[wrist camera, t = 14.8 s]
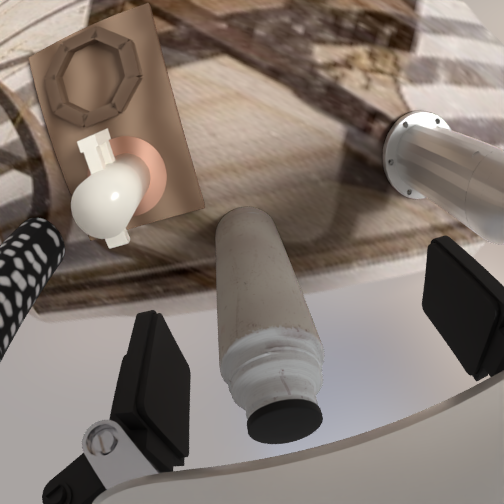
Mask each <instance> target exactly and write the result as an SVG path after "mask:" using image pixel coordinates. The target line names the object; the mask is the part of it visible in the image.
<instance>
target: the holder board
mask: <svg viewBox="0 0 504 504" xmlns="http://www.w3.org/2000/svg"><path fill="white" fill-rule="evenodd" d="M29 62H30V66H31V71H32V75H33V79H34V83H35V87H36V91H37V95H38V98H39V102H40V106H41V109H42V113H43V116H44V119H45V123H46V126H47V129H48V132H49V135H50V138H51V142H52V145H53V148H54V150H55V153H56V156H57V159H58V162H59V165H60V168H61V170H62V173H63V176H64V178H65V181H66V184H67V186H68V189H69V191H70V194H71V196H73V193H74V191H75V190H76V188H77V187H78V186H79V185H80V184H81V183H82V182H83V181H84V180H85V179H87V178H88V177H89V176H90V175H91V172H90V169H89V167H88V164H87V161H86V158H85V155H84V152H82V153H81V152H80V149H79V146H78V143H77V141H79V140H81V139H84V138H86V137H88V136H90V135H92V134H94V133H97V132H99V131H102V130H104V129H107V128H108V131H109V134H110V137H111V139H110V140H109V143H110V146H111V149H112V152H113V155H114V156H116V155H119V154H123V153H129V154H134V155H136V156H138V157H140V158H141V159H142V160H143V161H144V162H145V163H146V165H147V166H148V168H149V171H150V185H149V188H148V190H147V192H146V193H145V195H144V197H143V198H142V200H141V202H140V203H139V205H138V207H137V209H136V210H135V212H134V214H133V216H132V217H131V219H130V221H129V223H128V225H127V226H126V230H128V229H131V228H135V227H138V226H142V225H145V224H148V223H152V222H155V221H159V220H162V219H166V218H170V217H173V216H177V215H180V214H184V213H188V212H191V211H195V210H199V209H203V208H205V203H204V200H203V197H202V193H201V190H200V187H199V183H198V180H197V176H196V173H195V170H194V166H193V163H192V159H191V156H190V152H189V149H188V145H187V142H186V138H185V135H184V131H183V128H182V124H181V121H180V117H179V113H178V110H177V106H176V103H175V99H174V95H173V92H172V88H171V84H170V80H169V77H168V73H167V69H166V65H165V62H164V58H163V54H162V50H161V46H160V42H159V38H158V34H157V31H156V27H155V23H154V19H153V15H152V10H151V6H150V4H149V3H147V4H144V5H141V6H138V7H135V8H132V9H130V10H127V11H124V12H122V13H119V14H117V15H114V16H112V17H109V18H107V19H104V20H102V21H100V22H97V23H95V24H93V25H90V26H88V27H86V28H84V29H82V30H80V31H78V32H76V33H73V34H71V35H69V36H67V37H65V38H63V39H62V40H60V41H58V42H56V43H54V44H52V45H50V46H48V47H47V48H45V49H43V50H41V51H40V52H38V53H36V54H34V55H33V56H31V57H29ZM88 236H89V238H90V241H92V240H95V239H98V238H95V237H92V236H90V235H88Z"/></svg>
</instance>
